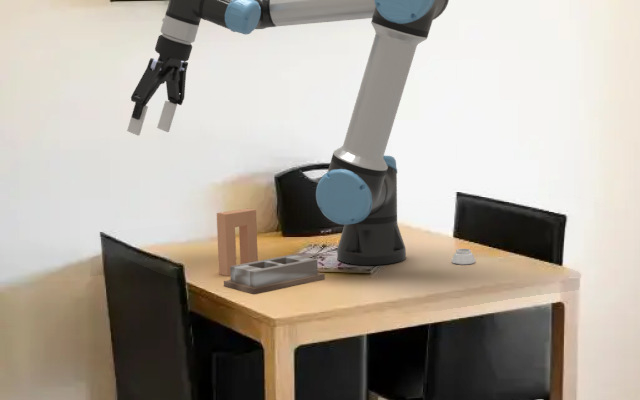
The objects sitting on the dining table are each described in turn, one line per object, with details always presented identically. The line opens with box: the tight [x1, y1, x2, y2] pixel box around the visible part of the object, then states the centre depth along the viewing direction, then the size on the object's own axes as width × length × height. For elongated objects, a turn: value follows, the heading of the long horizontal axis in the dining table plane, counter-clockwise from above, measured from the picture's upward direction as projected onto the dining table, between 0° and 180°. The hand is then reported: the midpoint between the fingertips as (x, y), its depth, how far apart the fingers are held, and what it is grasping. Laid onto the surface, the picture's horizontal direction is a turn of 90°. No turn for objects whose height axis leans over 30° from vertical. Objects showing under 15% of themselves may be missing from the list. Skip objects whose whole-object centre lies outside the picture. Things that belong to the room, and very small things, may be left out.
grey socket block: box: [223, 253, 326, 295], centre depth 214 cm, size 10×18×4 cm, turn 131°
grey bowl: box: [451, 248, 476, 266], centre depth 229 cm, size 5×3×5 cm
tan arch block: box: [216, 208, 259, 277], centre depth 224 cm, size 3×8×13 cm, turn 131°
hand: (148, 131), depth 233 cm, fingers open, 13 cm apart
